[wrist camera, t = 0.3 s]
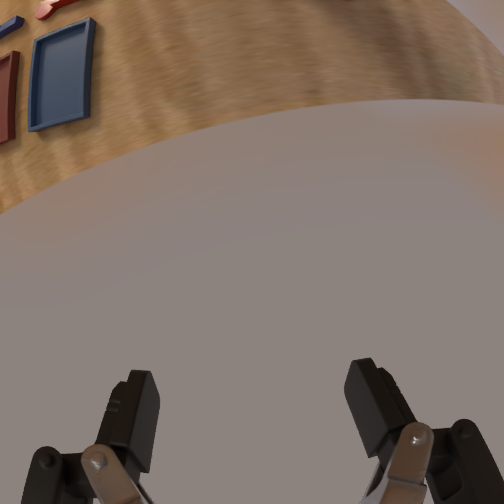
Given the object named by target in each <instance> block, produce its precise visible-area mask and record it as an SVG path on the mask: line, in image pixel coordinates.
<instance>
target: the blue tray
mask: <svg viewBox="0 0 504 504" xmlns="http://www.w3.org/2000/svg"><path fill="white" fill-rule="evenodd" d="M95 24H96V21H94V20H93V19H92V18H87V19H84V20H81V21H78V22H75V23H73V24H70V25H67V26H65V27H62V28H60V29H57V30H55V31H52V32H50V33H48V34H45V35H43V36H41V37H39V38H37V39H35V40H34V46H33V52H32V60H31V69H30V81H29V98H28V132H36V131H39V130H43V129H46V128H49V127H53V126H56V125H60V124H64V123H67V122H71V121H75V120H80V119H84V118H88V117H90V79H91V62H92V50H93V40H94V32H95Z"/></svg>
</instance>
